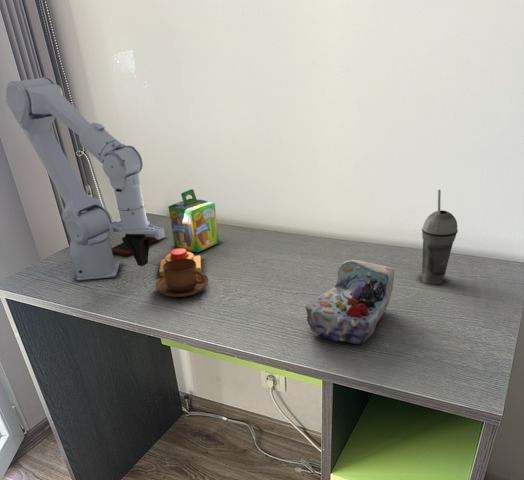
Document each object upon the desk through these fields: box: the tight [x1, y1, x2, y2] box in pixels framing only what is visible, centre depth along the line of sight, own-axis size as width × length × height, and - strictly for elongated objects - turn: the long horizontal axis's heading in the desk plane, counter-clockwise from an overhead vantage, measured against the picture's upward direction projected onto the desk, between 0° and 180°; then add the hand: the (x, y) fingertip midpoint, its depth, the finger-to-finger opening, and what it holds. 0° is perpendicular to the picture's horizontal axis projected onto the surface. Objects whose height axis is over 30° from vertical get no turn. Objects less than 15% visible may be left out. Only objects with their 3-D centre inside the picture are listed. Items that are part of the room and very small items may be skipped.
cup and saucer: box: [155, 259, 209, 298], centre depth 112 cm, size 12×12×6 cm
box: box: [158, 251, 202, 278], centre depth 123 cm, size 10×8×3 cm
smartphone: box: [111, 237, 163, 257], centre depth 139 cm, size 7×1×15 cm
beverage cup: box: [421, 189, 458, 285], centre depth 106 cm, size 7×7×20 cm
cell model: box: [305, 259, 395, 345], centre depth 94 cm, size 13×11×20 cm
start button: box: [169, 248, 188, 260], centre depth 122 cm, size 4×4×2 cm
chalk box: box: [167, 188, 220, 254], centre depth 133 cm, size 9×9×15 cm
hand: (143, 264), depth 116 cm, fingers closed
